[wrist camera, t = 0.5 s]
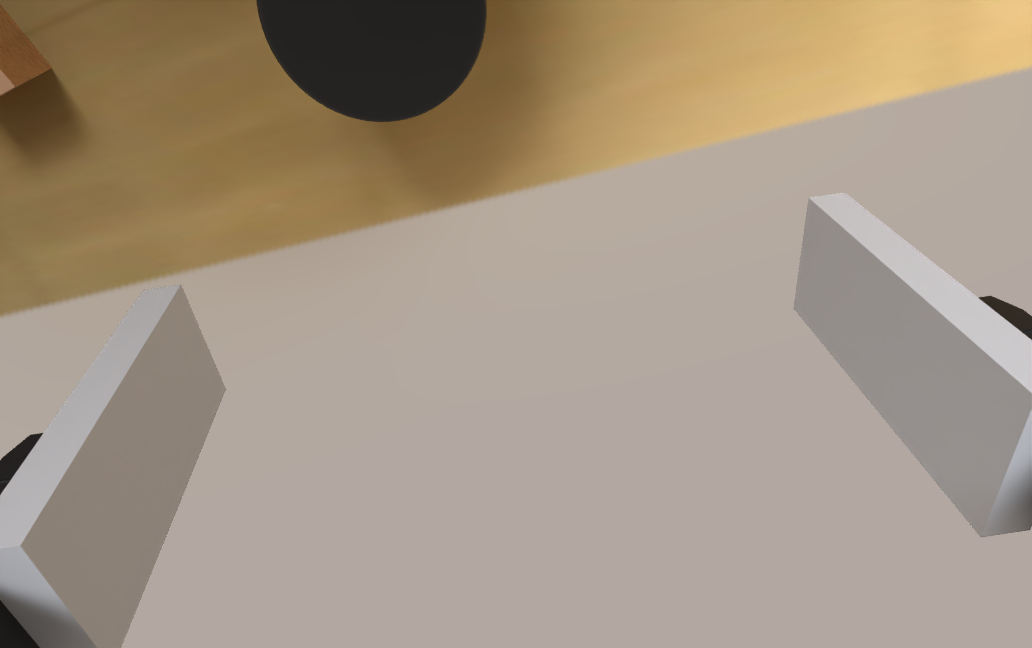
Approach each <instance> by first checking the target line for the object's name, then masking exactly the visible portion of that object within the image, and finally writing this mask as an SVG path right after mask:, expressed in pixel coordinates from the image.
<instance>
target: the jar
mask: <svg viewBox="0 0 1032 648" xmlns="http://www.w3.org/2000/svg"><path fill="white" fill-rule="evenodd" d="M257 8H258V13H259V18H260V22H261V25H262V29H263V31H264V34H265V37H266V40H267V42H268V44H269V46H270V48H271V50H272V52H273V54H274V55H275V57H276V59H277V61H278V62H279V64H280V65H281V66H282V68H283V69H284V71H285V72H286V73H287V74H288V76H289V77H290V78H291V79H292V80H293V81H294V82H295V83H296V84H297V85H298V86H299V87H300V88H301V89H302V90H303V91H304V92H305V93H307V94H308V95H309V96H310V97H312V98H313V99H314V100H316V101H317V102H319V103H320V104H322V105H324V106H325V107H327V108H329V109H331V110H333V111H335V112H337V113H340V114H343V115H345V116H348V117H352V118H356V119H360V120H366V121H375V122H390V121H399V120H404V119H408V118H412V117H415V116H418V115H420V114H423V113H425V112H427V111H429V110H431V109H433V108H434V107H436V106H438V105H439V104H441V103H442V102H443V101H445V100H446V99H447V98H448V97H449V96H451V95H452V94H453V93H454V92H455V91H456V90H457V89H458V88H459V86H460V85H461V84H462V83H463V81H464V80H465V79H466V77H467V76H468V74H469V73H470V71H471V69H472V67H473V66H474V64H475V61H476V59H477V57H478V54H479V52H480V49H481V46H482V42H483V38H484V33H485V27H486V17H487V4H486V0H257Z"/></svg>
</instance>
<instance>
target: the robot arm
mask: <svg viewBox="0 0 1032 648" xmlns="http://www.w3.org/2000/svg"><path fill="white" fill-rule="evenodd" d="M794 309H795V310H796V312H797V313H798V314H799V316H800V317H801V318H802V319H803V320H804V322H805V323H806V324H807V325H808V326H809V328H810V329H811V330H812V331H813V333H814V334H815V335H816V336H817V338H818V339H819V340H820V341H821V343H822V344H823V345H824V346H825V347H826V349H827V350H828V351H829V352H830V354H831V355H832V356H833V357H834V358H835V360H836V361H837V362H838V363H839V364H840V366H841V367H842V368H843V369H844V371H845V372H846V373H847V374H848V375H849V377H850V378H851V379H852V380H853V382H854V383H855V384H856V385H857V386H858V388H859V389H860V390H861V391H862V393H863V394H864V395H865V396H866V397H867V399H868V400H869V401H870V402H871V404H872V405H873V406H874V407H875V409H876V410H877V411H878V412H879V413H880V415H881V416H882V417H883V418H884V420H885V421H886V422H887V423H888V424H889V425H890V427H891V428H892V429H893V431H894V432H895V433H896V434H897V435H898V437H899V438H900V439H901V440H902V442H903V443H904V444H905V445H906V446H907V448H908V449H909V450H910V451H911V453H912V454H913V455H914V456H915V457H916V458H917V460H918V461H919V462H920V464H921V465H922V466H923V467H924V468H925V470H926V471H927V472H928V473H929V475H930V476H931V477H932V478H933V479H934V481H935V482H936V483H937V484H938V486H939V487H940V488H941V489H942V490H943V491H944V493H945V494H946V495H947V496H948V498H949V499H950V500H951V501H952V503H953V504H954V505H955V506H956V508H957V509H958V510H959V511H960V512H961V514H962V515H963V516H964V517H965V519H966V520H967V521H968V522H969V523H970V525H972V527H973V528H974V530H975V531H976V532H977V533H978V534H979V536H980V537H986V536H993V535H1000V534H1006V533H1013V532H1020V531H1026V530H1030V529H1031V526H1032V316H1031V315H1029V314H1028V313H1027V312H1025V311H1024V310H1023V309H1020V308H1018V307H1016V306H1013V305H1011V304H1009V303H1006V302H1004V301H1002V300H999V299H997V298H995V297H992V296H986V297H979V298H978V297H976V296H975V295H974V294H972V293H971V292H970V291H969V290H967V289H966V288H965V287H964V286H962V285H961V284H960V283H959V282H957V281H956V280H955V279H953V278H952V277H951V276H949V275H948V274H947V273H946V272H945V271H943V270H942V269H941V268H939V267H938V266H937V265H936V264H934V263H933V262H932V261H930V260H929V259H928V258H927V257H926V256H924V255H923V254H922V253H920V252H919V251H918V250H917V249H915V248H914V247H913V246H911V245H910V244H909V243H908V242H906V241H905V240H904V239H903V238H901V237H900V236H899V235H897V234H896V233H895V232H894V231H893V230H891V229H890V228H889V227H887V226H886V225H885V224H884V223H882V222H881V221H880V220H878V219H877V218H876V217H875V216H873V215H872V214H871V213H870V212H868V211H867V210H866V209H865V208H863V207H862V206H861V205H859V204H858V203H857V202H856V201H854V200H853V199H852V198H851V197H849V196H848V195H847V194H846V193H839V194H831V195H824V196H817V197H810V198H809V199H808V206H807V213H806V221H805V229H804V236H803V243H802V250H801V258H800V265H799V272H798V280H797V287H796V295H795V302H794ZM224 392H225V386H224V384H223V382H222V379H221V377H220V375H219V372H218V370H217V368H216V365H215V363H214V361H213V358H212V356H211V354H210V351H209V349H208V347H207V344H206V342H205V340H204V337H203V335H202V333H201V330H200V328H199V326H198V323H197V321H196V319H195V316H194V314H193V312H192V309H191V307H190V304H189V302H188V300H187V298H186V295H185V293H184V291H183V288H182V286H181V285H175V286H168V287H161V288H153V289H146V290H143V291H142V293H141V294H140V296H139V297H138V299H137V300H136V301H135V303H134V305H133V306H132V307H131V309H130V310H129V312H128V313H127V314H126V316H125V317H124V319H123V320H122V322H121V323H120V324H119V326H118V327H117V329H116V330H115V331H114V333H113V334H112V336H111V337H110V339H109V340H108V341H107V343H106V344H105V346H104V347H103V349H102V350H101V352H100V353H99V354H98V356H97V357H96V359H95V360H94V362H93V363H92V364H91V366H90V367H89V369H88V370H87V372H86V373H85V375H84V376H83V377H82V379H81V380H80V382H79V383H78V385H77V386H76V387H75V389H74V390H73V392H72V393H71V395H70V396H69V397H68V399H67V400H66V402H65V403H64V405H63V406H62V407H61V409H60V411H59V412H58V413H57V415H56V416H55V418H54V419H53V420H52V422H51V423H50V425H49V426H48V428H47V429H46V431H45V432H44V433H40V434H33V435H30V436H29V437H27V438H26V439H25V440H23V441H22V442H21V443H20V444H19V445H17V446H16V447H15V448H14V449H13V450H11V451H10V452H9V453H8V454H6V455H5V456H4V457H3V458H2V459H1V460H0V648H121V646H122V644H123V641H124V639H125V637H126V634H127V632H128V629H129V627H130V624H131V622H132V619H133V617H134V614H135V612H136V609H137V607H138V605H139V602H140V600H141V597H142V595H143V592H144V590H145V587H146V585H147V582H148V580H149V577H150V575H151V572H152V570H153V567H154V565H155V563H156V560H157V557H158V555H159V553H160V550H161V548H162V545H163V543H164V540H165V538H166V535H167V533H168V530H169V528H170V525H171V523H172V521H173V518H174V516H175V513H176V511H177V508H178V506H179V503H180V501H181V498H182V496H183V493H184V491H185V489H186V486H187V484H188V481H189V479H190V476H191V474H192V471H193V469H194V466H195V464H196V461H197V459H198V456H199V454H200V452H201V449H202V447H203V444H204V442H205V439H206V437H207V434H208V432H209V429H210V427H211V424H212V422H213V419H214V417H215V415H216V412H217V410H218V407H219V404H220V402H221V400H222V397H223V394H224Z"/></svg>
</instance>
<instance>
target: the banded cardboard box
mask: <svg viewBox="0 0 1032 648" xmlns="http://www.w3.org/2000/svg"><path fill="white" fill-rule="evenodd" d="M51 68H52V67H51V66H50V65H49V64H48V63H47V61H46V60H45V59H44V58H43V56H42V55H41V54H40V53H39V52H38V50H37V49H36V48H35V47H34V45H33V44H32V43H31V42H30V41H29V39H28V38H27V37H26V36H25V34H24V33H23V32H22V31H21V30H20V28H19V27H18V26H17V25H16V23H15V22H14V21H13V20H12V18H11V17H10V16H9V15H8V14H7V12H6V11H5V10H4V9H3V7H2V6H1V5H0V97H1V96H3V95H5V94H7V93H8V92H10V91H12V90H14V89H15V88H17V87H19V86H21V85H23V84H24V83H26V82H28V81H30V80H31V79H33V78H35V77H37V76H39V75H40V74H42V73H44V72H46V71H47V70H49V69H51Z"/></svg>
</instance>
